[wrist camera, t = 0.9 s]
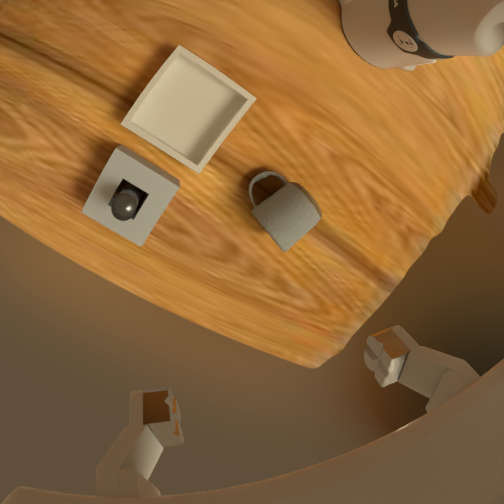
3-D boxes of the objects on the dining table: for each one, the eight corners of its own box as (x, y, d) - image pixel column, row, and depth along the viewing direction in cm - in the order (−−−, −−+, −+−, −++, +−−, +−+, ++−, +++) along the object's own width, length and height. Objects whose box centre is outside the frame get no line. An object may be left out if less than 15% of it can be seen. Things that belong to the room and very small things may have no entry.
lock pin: (128, 177, 39) (118, 192, 32) (146, 187, 40) (139, 205, 34) (118, 194, 40) (107, 213, 33) (135, 205, 41) (127, 225, 34)
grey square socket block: (121, 144, 37) (115, 147, 33) (179, 180, 41) (179, 187, 38) (88, 203, 39) (81, 212, 36) (144, 235, 44) (141, 246, 40)
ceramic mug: (312, 207, 48) (333, 224, 41) (273, 239, 49) (288, 261, 42) (274, 157, 43) (292, 166, 36) (232, 192, 44) (242, 207, 37)
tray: (179, 49, 33) (179, 44, 30) (251, 99, 38) (256, 98, 36) (124, 123, 36) (120, 124, 33) (197, 169, 41) (199, 174, 38)
